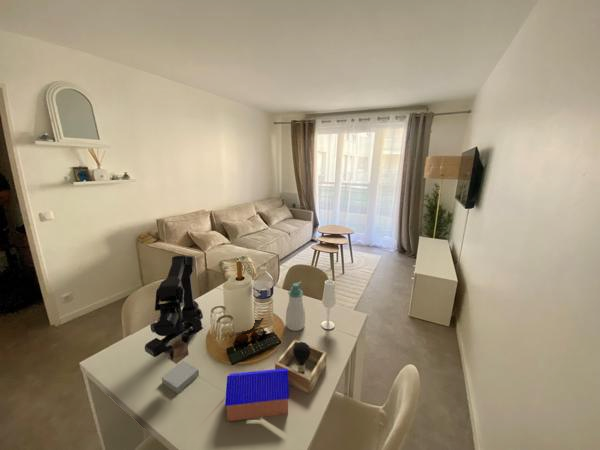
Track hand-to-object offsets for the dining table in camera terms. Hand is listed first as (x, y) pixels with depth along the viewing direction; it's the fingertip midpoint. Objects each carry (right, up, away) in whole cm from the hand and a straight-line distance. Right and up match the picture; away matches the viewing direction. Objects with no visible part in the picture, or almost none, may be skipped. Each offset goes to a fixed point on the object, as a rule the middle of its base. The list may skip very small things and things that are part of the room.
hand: (177, 354), depth 89 cm
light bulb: (+46, -10, +7) cm, 47 cm away
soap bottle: (+43, -4, +34) cm, 55 cm away
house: (+31, -13, -5) cm, 34 cm away
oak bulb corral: (+46, -10, +7) cm, 47 cm away
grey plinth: (0, -11, +3) cm, 11 cm away
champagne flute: (+59, -4, +35) cm, 69 cm away
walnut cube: (0, -1, 0) cm, 1 cm away
